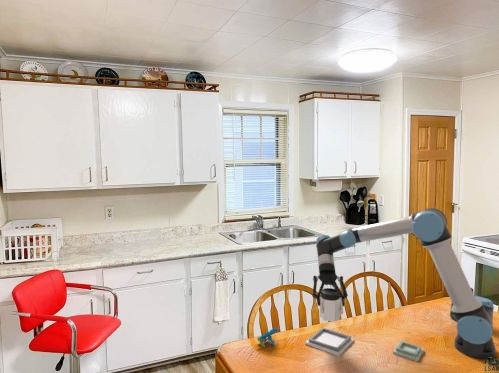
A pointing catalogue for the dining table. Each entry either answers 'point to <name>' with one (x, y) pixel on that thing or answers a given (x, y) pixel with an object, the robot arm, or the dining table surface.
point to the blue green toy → (268, 334)
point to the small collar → (408, 350)
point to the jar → (330, 304)
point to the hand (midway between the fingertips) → (331, 313)
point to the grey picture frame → (330, 341)
